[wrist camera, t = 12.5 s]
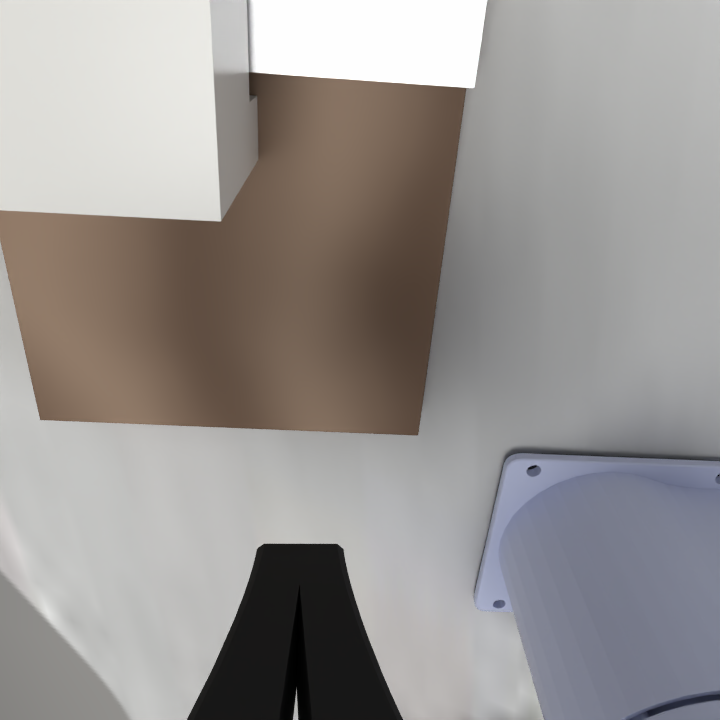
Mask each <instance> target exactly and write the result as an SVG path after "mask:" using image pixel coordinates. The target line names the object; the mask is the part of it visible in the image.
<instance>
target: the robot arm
mask: <svg viewBox="0 0 720 720" xmlns="http://www.w3.org/2000/svg"><path fill="white" fill-rule="evenodd" d="M533 465H537V467H536V468H534V469H531V470H528V468H529V467H530V466H533ZM719 474H720V461H702V460H676V459H651V458H626V457H601V456H576V455H551V454H526V453H518V454H514V455H511V456H509V457H508V458H507V459H506V461H505V463H504V466H503V471H502V475H501V479H500V484H499V488H498V492H497V497H496V501H495V506H494V510H493V514H492V519H491V523H490V528H489V532H488V536H487V541H486V545H485V550H484V554H483V558H482V563H481V567H480V571H479V576H478V580H477V585H476V589H475V593H474V602H475V606H476V607H477V609H479V610H481V611H495V612H513V613H514V616H515V620H516V623H517V627H518V630H519V633H520V637H521V640H522V644H523V647H524V651H525V654H526V658H527V661H528V665H529V668H530V672H531V675H532V679H533V682H534V686H535V689H536V693H537V696H538V700H539V703H540V707H541V710H542V714H543V717H544V720H720V475H719ZM717 475H719V476H717ZM296 687H297V701H298V720H403V719H402V717H401V715H400V712H399V710H398V708H397V706H396V704H395V702H394V699H393V697H392V695H391V693H390V690H389V688H388V686H387V683H386V681H385V679H384V676H383V674H382V672H381V669H380V666H379V664H378V661H377V659H376V656H375V654H374V651H373V649H372V646H371V644H370V641H369V639H368V636H367V633H366V630H365V628H364V625H363V622H362V619H361V616H360V613H359V610H358V607H357V604H356V601H355V598H354V594H353V591H352V587H351V584H350V580H349V576H348V572H347V567H346V563H345V557H344V550H343V548H341V547H340V546H339V545H338V544H263V545H262V546H260V547H259V548H258V549H257V552H256V557H255V561H254V565H253V568H252V572H251V575H250V578H249V581H248V584H247V587H246V590H245V593H244V596H243V599H242V601H241V604H240V606H239V609H238V611H237V614H236V617H235V619H234V622H233V624H232V626H231V628H230V631H229V633H228V635H227V638H226V640H225V642H224V644H223V647H222V649H221V651H220V653H219V656H218V658H217V660H216V663H215V665H214V667H213V669H212V671H211V673H210V675H209V677H208V679H207V681H206V683H205V685H204V687H203V689H202V691H201V693H200V695H199V697H198V699H197V701H196V703H195V705H194V707H193V709H192V711H191V713H190V715H189V717H188V719H187V720H293V714H294V705H295V696H296Z"/></svg>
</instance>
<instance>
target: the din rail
mask: <svg viewBox="0 0 720 720" xmlns="http://www.w3.org/2000/svg"><path fill="white" fill-rule="evenodd" d="M486 4H487V0H247V25H248V64H249V72H256V73H269V74H283V75H297V76H311V77H325V78H339V79H353V80H367V81H381V82H395V83H409V84H423V85H437V86H451V87H464V88H474V87H475V81H476V74H477V67H478V60H479V53H480V46H481V39H482V32H483V25H484V18H485V11H486Z"/></svg>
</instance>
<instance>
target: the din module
mask: <svg viewBox="0 0 720 720" xmlns="http://www.w3.org/2000/svg"><path fill="white" fill-rule="evenodd" d="M257 161H258V114H257V96H252V95H249V64H248V25H247V0H0V210H4V211H24V212H43V213H63V214H82V215H102V216H122V217H141V218H161V219H180V220H200V221H220V222H221V221H222V219H223V217H224V216H225V214H226V212H227V211H228V209H229V207H230V206H231V204H232V202H233V201H234V199H235V197H236V196H237V194H238V192H239V191H240V189H241V187H242V186H243V184H244V182H245V181H246V179H247V177H248V176H249V174H250V172H251V171H252V169H253V167H254V166H255V164H256V162H257Z"/></svg>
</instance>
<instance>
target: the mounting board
mask: <svg viewBox="0 0 720 720" xmlns="http://www.w3.org/2000/svg"><path fill="white" fill-rule="evenodd" d="M465 93H466V88H464V87H451V86H437V85H423V84H409V83H395V82H381V81H367V80H353V79H339V78H325V77H311V76H297V75H283V74H269V73H256V72H249V95H252V96H257V114H258V161H257V162H256V164H255V166H254V167H253V169H252V171H251V172H250V174H249V176H248V177H247V179H246V181H245V182H244V184H243V186H242V187H241V189H240V191H239V192H238V194H237V196H236V197H235V199H234V201H233V202H232V204H231V206H230V207H229V209H228V211H227V212H226V214H225V216H224V217H223V219H222V221H221V222H220V221H200V220H180V219H161V218H141V217H122V216H102V215H82V214H63V213H43V212H24V211H4V210H0V241H1V245H2V250H3V254H4V259H5V263H6V268H7V272H8V277H9V281H10V286H11V290H12V295H13V299H14V304H15V308H16V313H17V317H18V322H19V326H20V331H21V335H22V340H23V344H24V349H25V353H26V358H27V362H28V367H29V371H30V376H31V380H32V385H33V389H34V394H35V398H36V403H37V407H38V412H39V416H40V420H56V421H81V422H105V423H129V424H154V425H178V426H202V427H227V428H251V429H275V430H300V431H324V432H348V433H373V434H397V435H418V432H419V425H420V418H421V410H422V403H423V396H424V389H425V381H426V374H427V367H428V360H429V353H430V345H431V338H432V331H433V324H434V317H435V309H436V302H437V295H438V288H439V281H440V273H441V266H442V259H443V252H444V244H445V237H446V230H447V223H448V216H449V208H450V201H451V194H452V187H453V180H454V172H455V165H456V158H457V151H458V143H459V136H460V129H461V122H462V115H463V107H464V100H465Z"/></svg>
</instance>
